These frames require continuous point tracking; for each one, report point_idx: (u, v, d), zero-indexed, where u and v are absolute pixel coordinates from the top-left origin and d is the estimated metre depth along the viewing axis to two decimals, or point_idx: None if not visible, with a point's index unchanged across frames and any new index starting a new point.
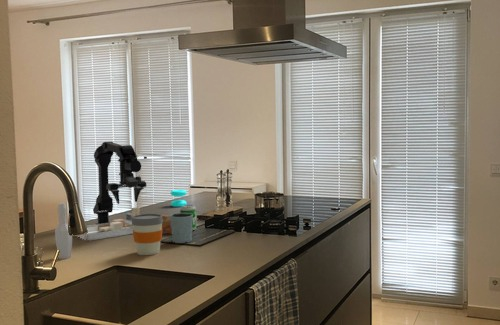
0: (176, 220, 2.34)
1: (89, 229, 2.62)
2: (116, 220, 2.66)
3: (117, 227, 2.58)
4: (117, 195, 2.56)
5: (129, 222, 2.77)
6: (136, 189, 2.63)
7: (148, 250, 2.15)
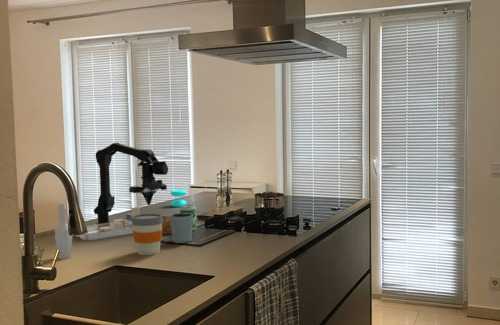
0: (176, 220, 2.34)
1: (89, 229, 2.62)
2: (116, 220, 2.66)
3: (117, 227, 2.58)
4: (147, 196, 2.72)
5: (129, 222, 2.77)
6: (149, 192, 2.74)
7: (148, 250, 2.15)
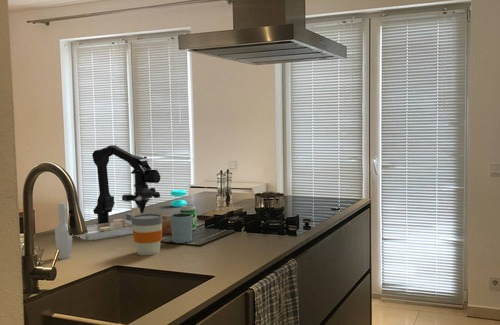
0: (176, 220, 2.34)
1: (89, 229, 2.62)
2: (116, 220, 2.66)
3: (117, 227, 2.58)
4: (140, 205, 2.70)
5: (129, 222, 2.77)
6: (142, 200, 2.72)
7: (148, 250, 2.15)
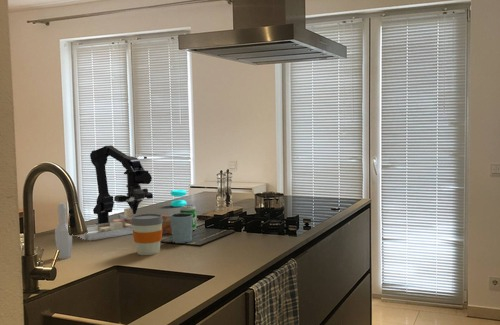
0: (176, 220, 2.34)
1: (89, 229, 2.62)
2: (116, 220, 2.66)
3: (117, 227, 2.58)
4: (133, 206, 2.67)
5: None
6: (135, 201, 2.69)
7: (148, 250, 2.15)
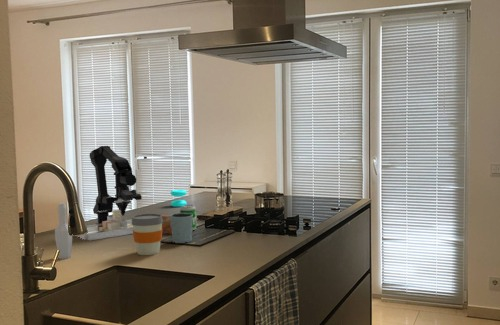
0: (176, 220, 2.34)
1: (89, 229, 2.62)
2: (106, 221, 2.63)
3: (114, 227, 2.58)
4: (121, 207, 2.64)
5: (129, 222, 2.77)
6: (123, 203, 2.65)
7: (148, 250, 2.15)
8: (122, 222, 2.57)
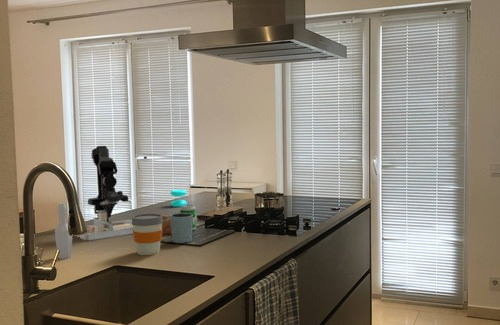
0: (176, 220, 2.34)
1: None
2: (92, 226, 2.59)
3: None
4: (107, 209, 2.59)
5: (129, 222, 2.77)
6: (110, 204, 2.61)
7: (148, 250, 2.15)
8: (108, 224, 2.52)
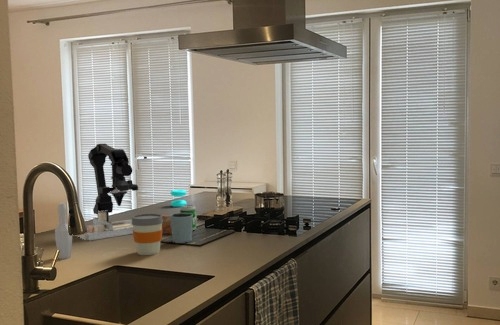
0: (176, 220, 2.34)
1: None
2: (91, 227, 2.59)
3: None
4: (117, 197, 2.64)
5: (129, 222, 2.77)
6: (120, 193, 2.66)
7: (148, 250, 2.15)
8: (107, 224, 2.52)
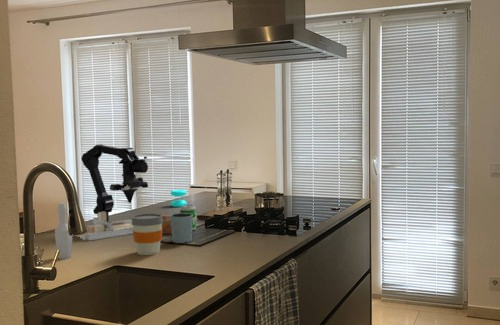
0: (176, 220, 2.34)
1: None
2: (91, 227, 2.59)
3: None
4: (128, 194, 2.73)
5: (129, 222, 2.77)
6: (130, 190, 2.74)
7: (148, 250, 2.15)
8: (107, 224, 2.52)
